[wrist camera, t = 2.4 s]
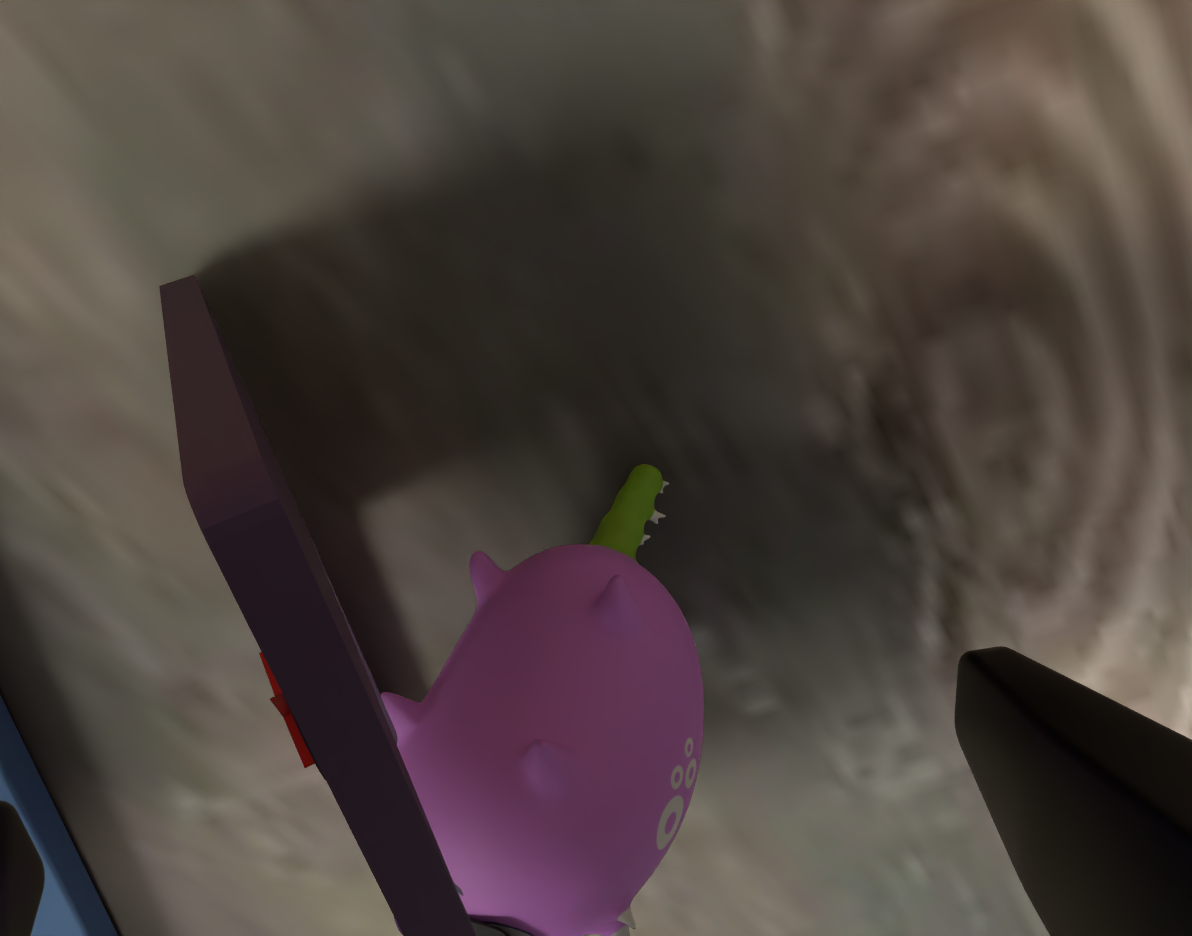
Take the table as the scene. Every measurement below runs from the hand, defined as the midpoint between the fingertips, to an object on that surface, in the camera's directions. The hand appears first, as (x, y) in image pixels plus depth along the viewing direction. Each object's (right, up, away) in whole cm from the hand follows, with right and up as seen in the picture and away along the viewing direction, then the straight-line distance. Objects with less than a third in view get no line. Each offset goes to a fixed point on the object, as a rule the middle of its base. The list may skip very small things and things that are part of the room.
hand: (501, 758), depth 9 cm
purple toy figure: (0, +2, +3) cm, 4 cm away
